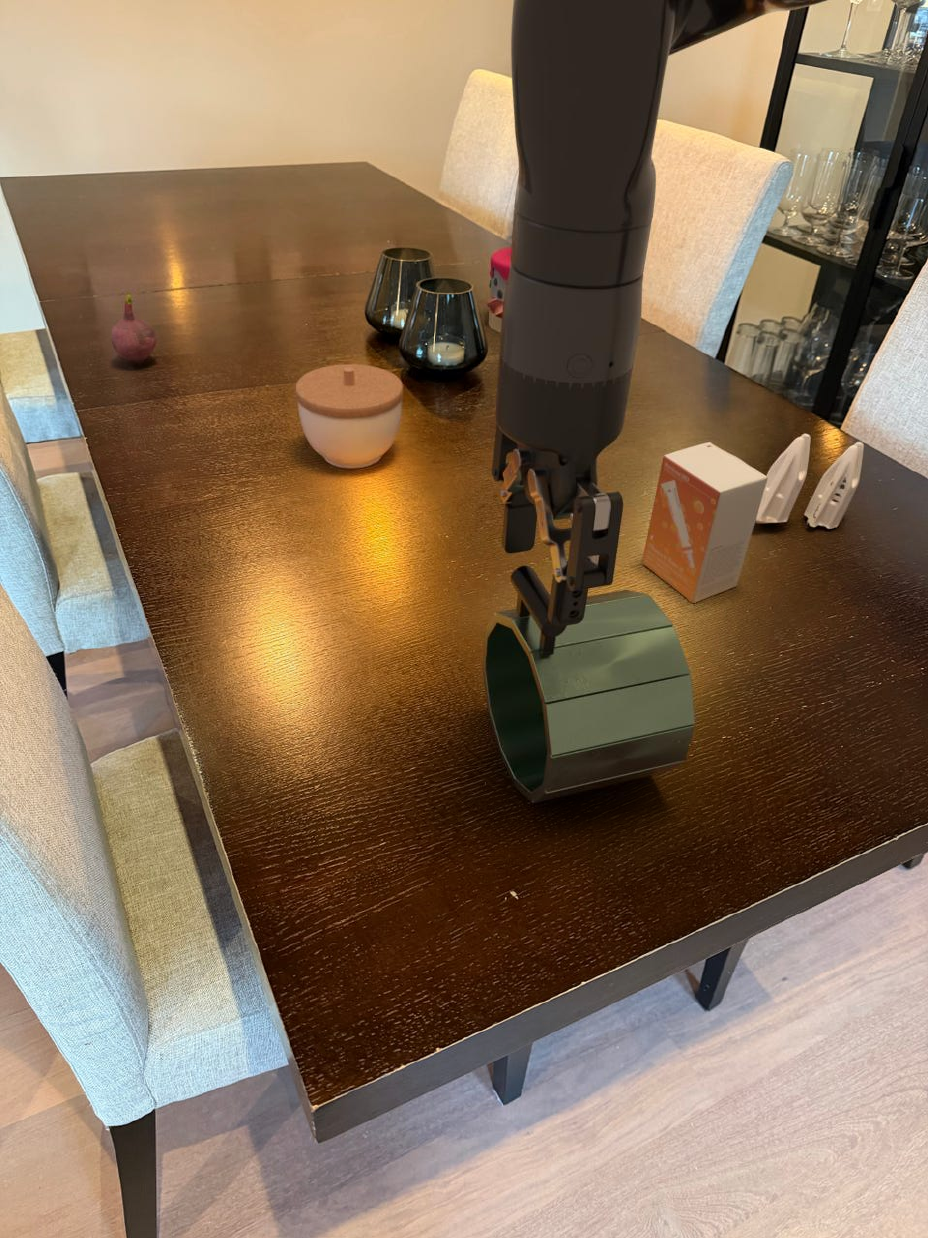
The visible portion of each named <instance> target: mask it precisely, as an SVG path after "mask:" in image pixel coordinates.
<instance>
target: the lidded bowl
mask: <svg viewBox="0 0 928 1238" xmlns="http://www.w3.org/2000/svg"><path fill="white" fill-rule="evenodd" d="M294 390H295V398H296V401H297V409H298V416H299V421H300V425H301V428H302V432H303V434H304V435H305V436H304V437H305V438H306V440H307V442H308V443H309V445H310V446H311V447H312V448H313V450H314V451H315V452H316V453H318V454H319V455H320V456H321V457H322V458H323V460H325V461H326V462H327V464H330V465H332V466H334V467H337V468H340V469H341V468H342V469H361V468H367V467H371V466H372V465H374V464H376V463H377V462H378V461H379V462H380V459H381V458H382V456H383V455H384V454H385V453H387V451H389V450H390V448H391V447H392V445H393V444H394V443H395V441H396V439H397V436H398V434H399V432H400V427H401V423H402V415H403V398H404V385H403V382H402V381H401V379H400V378H399V377H398V376H397V375H396V374H395V373H393V372H391V371H388V370H387V369H384V368H380V367H376V366H373V365H366V364H356V363H355V364H354V363H352V364H350V363H347V364H346V363H345V364H344V363H343V364H334V365H327V366H322V367H320V368H316V369H313V370H310V371H309V372H307V373H305V374H303V375H302V376H301V377H300V378H299V379H298V380H297V382H296V383H295V388H294Z"/></svg>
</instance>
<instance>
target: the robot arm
mask: <svg viewBox="0 0 928 1238" xmlns="http://www.w3.org/2000/svg"><path fill="white" fill-rule="evenodd" d="M825 2H828V0H513V3H512V12H511V13H512V14H511V26H510V28H511V30H510V64H511V65H510V67H511V68H510V69H511V85H512V86H511V87H512V88H511V89H512V104H513V106H512V107H513V118H514V119H513V120H514V121H513V123H514V133H515V134H514V135H515V144H516V152H517V160H518V176H517V182H516V188H515V197H514V204H513V206H514V207H513V208H514V209H513V219H512V233H511V246H510V247H511V263H510V271H509V277H508V282H507V286H506V291H505V296H504V302H503V311H502V324H501V333H500V340H499V352H498V366H497V367H498V368H497V384H496V399H495V411H494V416H495V422H496V423H495V434H494V444H493V454H492V464H491V465H492V467H491V476H492V478H493V480H494V482H501V483H502V484H501V485H500V488H499V489H500V490H499V495H500V498H501V501H502V503H504V508H503V520H502V533H501V546H502V548H503V550H504V551H505V553H506V554H511V555H512V554H515V553H516V554H517V553H522V552H523V553H525V552H529V551H532V549H533V548H534V546H535V542H536V532H537V524H538V529H539V537H540V541H541V542H542V544H544V545H546V546H548V547H549V550H550V556H551V563H552V570H553V574H552V579H551V585H550V593H549V594H550V601H549V609H548V619H549V621H550V622H551V624H552V625H553V626H554V627H562V626H568V625H573V624H578V623H580V622H581V621H582V620H583V618H584V613H585V607H586V600H587V596H588V595H589V594H588V593H589V590H590V589H594V588H601V587H606V586H611V585H612V584H613V582H614V576H615V569H616V567H615V566H616V561H617V553H618V547H619V540H620V532H621V525H622V518H623V511H624V498H623V496H622V494H621V493H620V492H619V491H613V492H606V493H604V492H603V491H602V490H601V489H600V488H599V487H598V484H599V481H598V480H599V479H598V460H597V458H598V456H599V455H600V454H601V452H602V451H604V450H605V449H606V448H607V447H609V446H610V445H611V444H612V443H614V442H615V441H616V440H617V439H618V438H619V436H621V433H622V431H623V429H624V424H625V419H626V418H625V416H626V412H627V411H626V410H627V405H628V399H629V395H630V394H629V393H630V387H631V381H632V375H633V369H634V364H635V357H636V352H637V346H638V341H639V340H638V338H639V333H640V332H639V331H640V327H641V319H642V306H643V302H642V301H643V282H644V270H645V264H646V258H647V253H648V247H649V240H650V235H651V234H650V233H651V229H652V222H653V218H654V210H655V201H656V190H657V189H656V188H657V171H656V166H655V162H654V160H653V157H652V154H653V148H654V143H655V137H656V130H657V124H658V118H659V112H660V107H661V99H662V93H663V88H664V81H665V75H666V70H667V65H668V59H669V57H670V56H673V55H675V54H677V53H679V52H681V51H684V50H686V49H688V48H690V47H692V46H695V45H698V44H700V43H702V42H705V41H707V40H709V39H712V38H714V37H716V36H719V35H721V34H723V33H726V32H729V31H730V30H733V29H735V28H738V27H739V26H742V25H745V24H747V23H749V22H752V21H753V20H755V19H758V18H761V17H762V16H765V15H767V14H770V13H775V12H786V11H794V10H799V9H803V8H807V7H810V6H815V5H817V4H821V3H825ZM509 453H510V461H509V462H507V456H508V454H509ZM568 519H569V520H570V521H571V527H567V528H558V527H557V526H556V524H555V522H554V521H560V520H568ZM567 542H569V550H568V558H567V553H566V548H565V547H566V546H565V545H566V543H567ZM567 559H568V560H567Z"/></svg>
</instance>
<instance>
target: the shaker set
mask: <svg viewBox="0 0 928 1238" xmlns="http://www.w3.org/2000/svg"><path fill="white" fill-rule="evenodd" d="M811 438H812V437H811V435H810V434H809V433H803V434H801V436H798V437H796V438H795V439H794V440H793V441H792V442H791V443H790V444H789V445H788V446H787V447H786V449H785V450H783V452H782V453H781V454H780V455H779V456H778V458H777V459H776V460H775V461H774V463H773V464H772V465H771V466H770V467H769V470H768V471H767V473H766V476H767V477H768V479H767V482H766V485H765V489H764V492H763V496H762V499H761V503H760V506H759V510H758V513H757V517H756V520H755V524H777V523H787V521H788V520H789V517H790V515H791V512H792V510H793V508H794V505H795V503H796V501H797V500H798V499H797V498H798V496H799V494H800V493H801V490H802V488H803V485H804V484H805V481H806V478H807V475H808V474H807V473H808V469H809V459H810V453H811V452H810V451H811ZM864 449H865V445H864V443H863V442H861V441H856V442H854V444H852V445H849V447H847V448H846V450H845V451H843V453H842V454H841V455H840V456H838V458H836V460H835V461H834V462H833V463H832V464H831V465H830V467H829V468H828V469H826V471H825V472H824V473H823V474H822V476H821V478H820V480H819V482H818V483H817V486H816V488H815V490H814V492H813V493H812V496H811V498H810V501H809V502H808V505H807V507H806V509H805V512H804V513H803V514H804V516H805V517H806V518H807V521H806V525H808V524H809V526H810V527H812V528H816V527H817V526H820V527H825V528H826V529H828V530H829V529H830V530H831V529H834V528H838V526H839V525H840V523H841V521H842V519H843V517H844V515H845V513H846V511H847V509H848V507H849V505H850V503H851V501H852V498H853V497H854V495H855V493H856V490H857V488H858V485H859V483H860V477H861V471H862V466H863V465H862V464H863V459H864V457H863V456H864Z"/></svg>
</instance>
